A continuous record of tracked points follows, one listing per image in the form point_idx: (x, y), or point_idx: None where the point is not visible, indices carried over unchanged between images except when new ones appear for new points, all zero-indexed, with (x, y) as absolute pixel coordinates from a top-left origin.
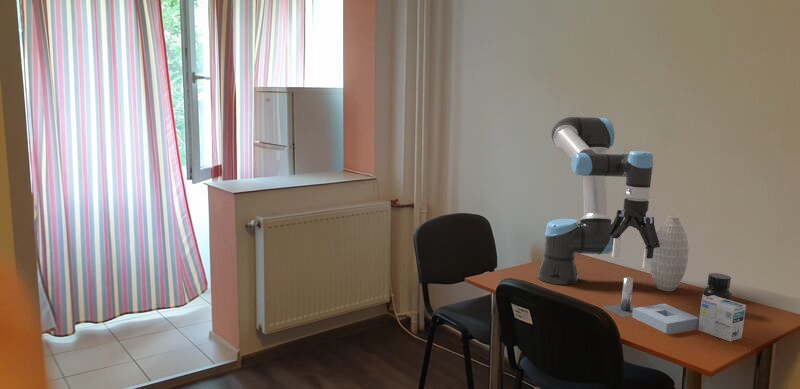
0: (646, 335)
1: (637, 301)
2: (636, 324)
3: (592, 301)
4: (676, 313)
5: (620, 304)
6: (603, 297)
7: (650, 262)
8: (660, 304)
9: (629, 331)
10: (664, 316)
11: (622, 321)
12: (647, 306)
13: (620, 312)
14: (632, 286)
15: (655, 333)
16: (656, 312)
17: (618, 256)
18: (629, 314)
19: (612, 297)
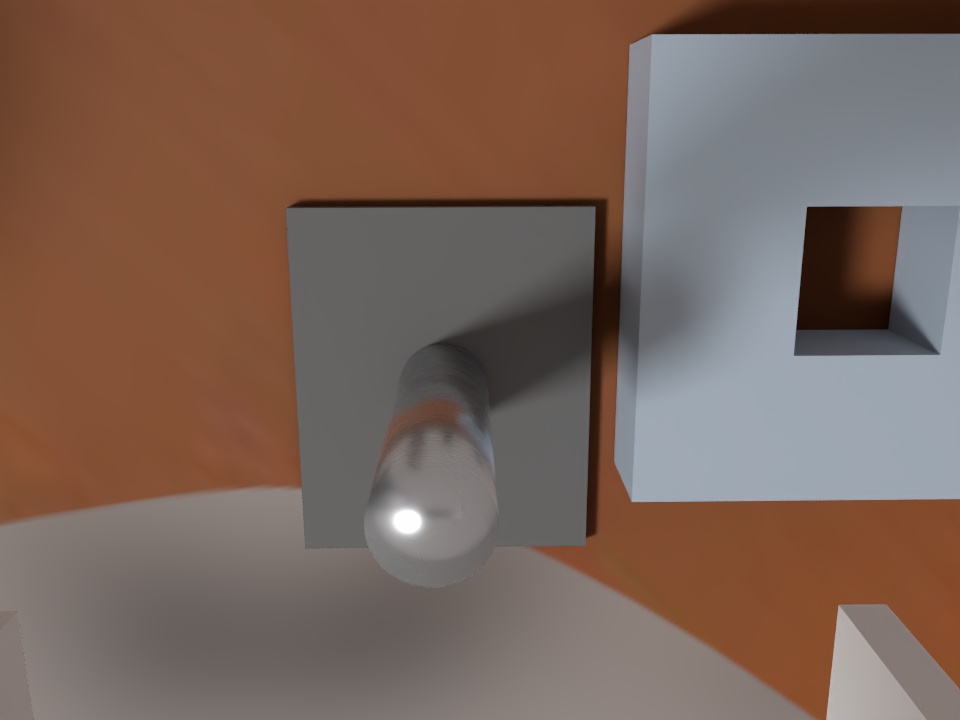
0: (938, 615)
1: (235, 18)
2: (733, 521)
3: (117, 487)
4: (934, 173)
5: (301, 319)
6: (32, 296)
7: (937, 674)
8: (657, 111)
9: (819, 678)
10: (932, 372)
11: (633, 582)
12: (648, 312)
13: None
14: (483, 447)
15: (945, 518)
16: (819, 362)
17: (17, 643)
18: (555, 438)
19: (53, 200)
